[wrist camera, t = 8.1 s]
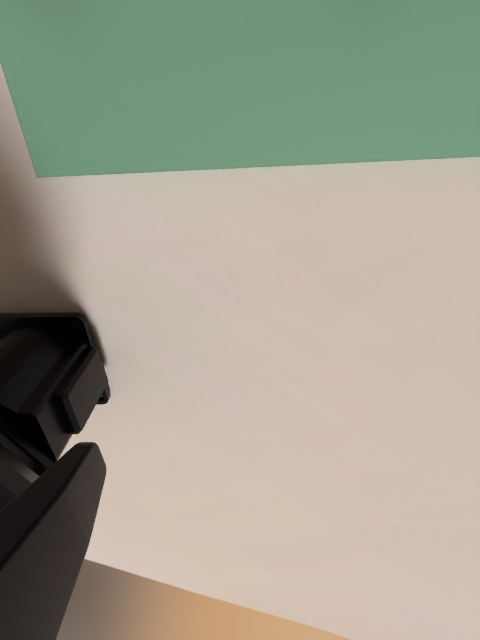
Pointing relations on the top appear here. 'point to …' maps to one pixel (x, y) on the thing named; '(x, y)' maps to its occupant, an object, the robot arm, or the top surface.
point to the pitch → (240, 82)
